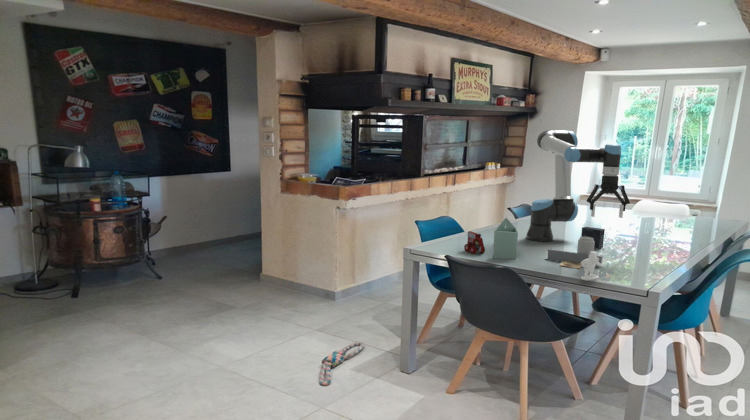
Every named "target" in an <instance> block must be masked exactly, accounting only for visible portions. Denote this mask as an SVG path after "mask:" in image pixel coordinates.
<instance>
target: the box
mask: <svg viewBox="0 0 750 420" xmlns="http://www.w3.org/2000/svg"><path fill="white" fill-rule="evenodd" d="M605 231H606V229H605V228H599V227H592V226H591V227H590V226H584V227H581V235H580V237H591V238H593V240H594V241H595V244H594V249H599V250H600V249H601V248H603V247H604V240H605V238H604V237H605Z"/></svg>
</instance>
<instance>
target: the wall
mask: <svg viewBox="0 0 750 420" xmlns="http://www.w3.org/2000/svg"><path fill="white" fill-rule="evenodd" d="M603 257H604V256H603V254H599V255H597V258H599V261H598V262H599V263H601V264H603ZM587 258H589V254H581V253H577V252H572V251H567V250H565V251H564V250H560V249H559V250H558V249H553V248H552V247H549V248H548V249H547V259H546V260H548V261H558V262H562V261H568V262H574V263H581V262H582V261H583V260H584V259H587ZM596 266H598V265H596ZM596 266H595V267H596ZM597 268H602V266H598V267H597Z"/></svg>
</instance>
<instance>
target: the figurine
mask: <svg viewBox="0 0 750 420" xmlns="http://www.w3.org/2000/svg"><path fill="white" fill-rule="evenodd" d="M599 255H600V254H599V252H596V251H595V250H594V251H590V254H589V258H587V259H584V260H583V261H582V262H581V265H582V269H583V271H584V274H583V276H581V277H580V280H583V281H594V279H595V280H598V279H599V276H598V275H596V274H595V268H596V265H598V266H601V268H602V267H604V266H605V265H606V264H605V263H602V264H601V263H599V262H598V261H599V258H597V256H599ZM588 274H589V275H588Z"/></svg>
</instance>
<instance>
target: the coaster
mask: <svg viewBox="0 0 750 420" xmlns="http://www.w3.org/2000/svg"><path fill="white" fill-rule="evenodd" d="M559 267H563V268H569V267H570V268H569V269H575V268H576V269H577V270H581V269H582V268H583V266H582V265H581V263H574V262H568V261H563V262H562V261H561V262H560V264H559Z"/></svg>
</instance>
